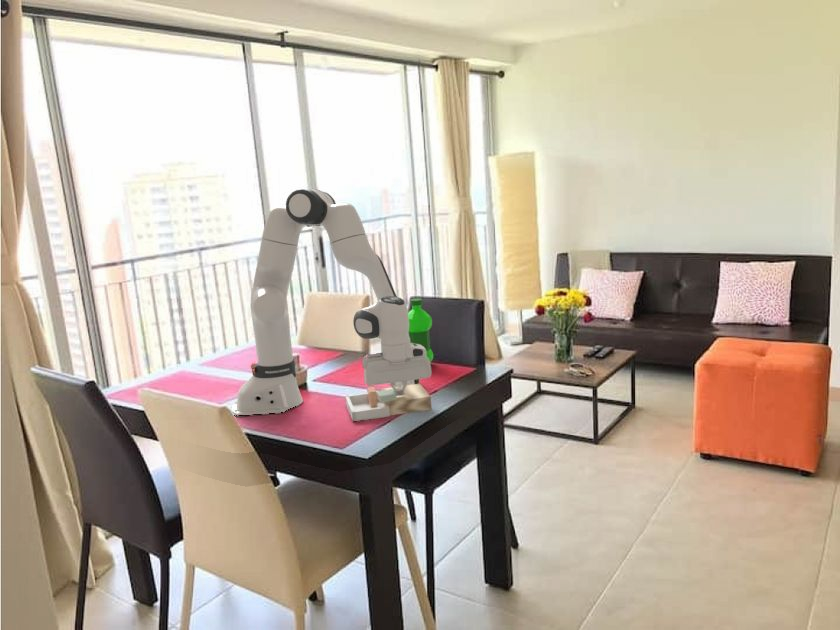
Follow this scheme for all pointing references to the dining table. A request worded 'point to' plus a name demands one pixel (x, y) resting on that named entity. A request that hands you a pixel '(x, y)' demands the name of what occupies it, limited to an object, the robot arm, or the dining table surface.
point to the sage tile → (386, 396)
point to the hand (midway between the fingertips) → (399, 395)
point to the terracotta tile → (372, 397)
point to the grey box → (365, 408)
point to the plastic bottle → (420, 326)
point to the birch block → (409, 400)
